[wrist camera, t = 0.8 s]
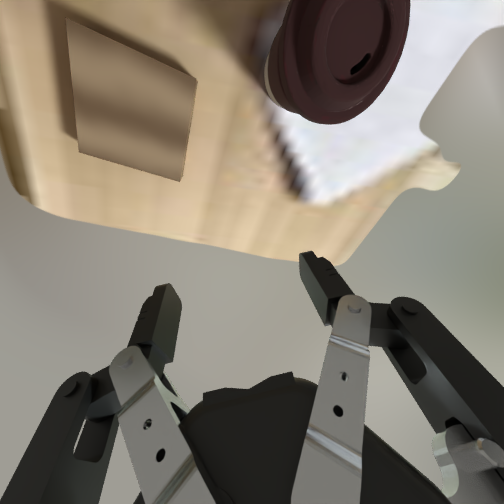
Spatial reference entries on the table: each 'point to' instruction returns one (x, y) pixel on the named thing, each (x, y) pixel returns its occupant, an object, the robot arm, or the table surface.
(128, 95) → the base
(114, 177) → the table surface
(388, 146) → the table surface
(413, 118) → the table surface
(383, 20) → the coffee cup
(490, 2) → the table surface
